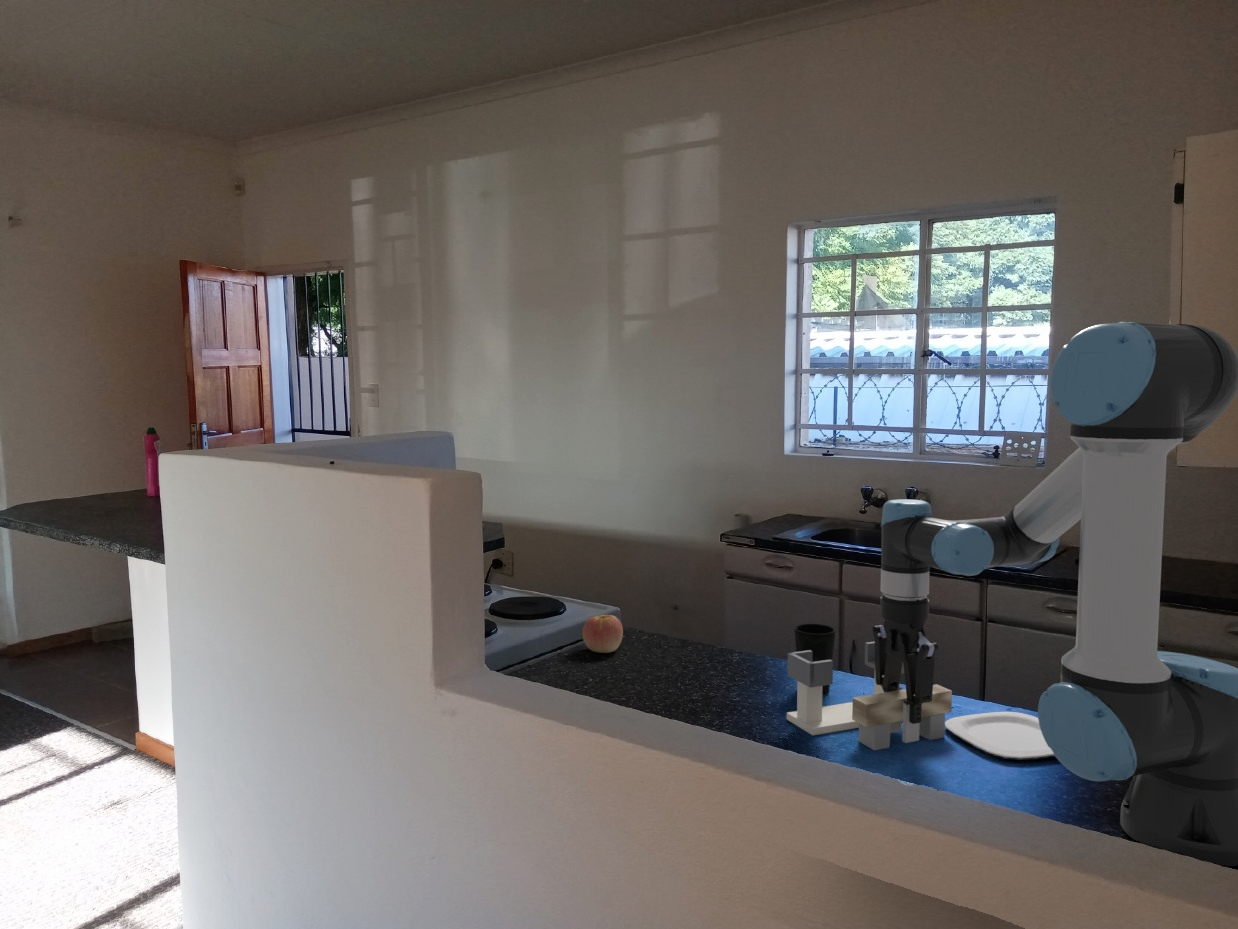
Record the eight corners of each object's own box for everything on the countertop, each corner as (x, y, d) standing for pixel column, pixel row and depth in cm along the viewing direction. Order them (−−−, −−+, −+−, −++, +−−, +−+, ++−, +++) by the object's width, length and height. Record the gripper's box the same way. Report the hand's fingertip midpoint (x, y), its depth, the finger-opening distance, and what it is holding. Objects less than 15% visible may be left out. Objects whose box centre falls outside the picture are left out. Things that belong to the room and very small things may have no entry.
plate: (1002, 771, 136) (1002, 760, 136) (930, 728, 154) (931, 718, 153) (1100, 757, 141) (1101, 747, 141) (1020, 717, 158) (1021, 707, 158)
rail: (936, 705, 152) (936, 684, 152) (951, 712, 149) (951, 690, 149) (852, 719, 146) (852, 697, 146) (866, 727, 143) (866, 704, 142)
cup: (835, 698, 167) (836, 635, 166) (793, 696, 169) (794, 633, 168) (834, 685, 175) (834, 624, 174) (794, 682, 176) (794, 622, 176)
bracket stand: (911, 718, 157) (913, 651, 156) (811, 735, 149) (812, 665, 148) (882, 703, 164) (883, 639, 163) (785, 719, 157) (785, 652, 156)
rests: (944, 737, 148) (945, 713, 148) (874, 750, 143) (874, 726, 143) (927, 729, 152) (928, 706, 152) (858, 741, 147) (859, 717, 147)
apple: (617, 658, 194) (617, 621, 193) (578, 655, 196) (577, 619, 195) (627, 647, 202) (626, 611, 201) (588, 644, 204) (588, 609, 203)
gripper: (960, 604, 139) (956, 751, 141) (890, 583, 155) (887, 716, 157) (921, 609, 137) (917, 759, 139) (853, 587, 152) (851, 722, 154)
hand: (901, 735), depth 148 cm, fingers closed on rail, 4 cm apart
